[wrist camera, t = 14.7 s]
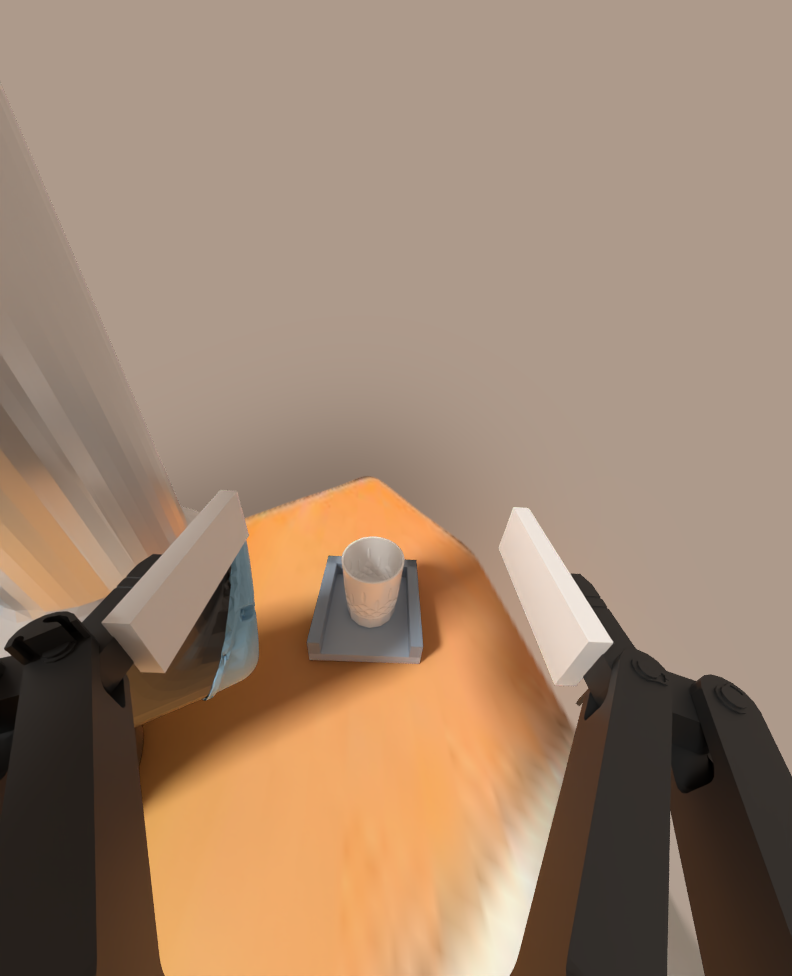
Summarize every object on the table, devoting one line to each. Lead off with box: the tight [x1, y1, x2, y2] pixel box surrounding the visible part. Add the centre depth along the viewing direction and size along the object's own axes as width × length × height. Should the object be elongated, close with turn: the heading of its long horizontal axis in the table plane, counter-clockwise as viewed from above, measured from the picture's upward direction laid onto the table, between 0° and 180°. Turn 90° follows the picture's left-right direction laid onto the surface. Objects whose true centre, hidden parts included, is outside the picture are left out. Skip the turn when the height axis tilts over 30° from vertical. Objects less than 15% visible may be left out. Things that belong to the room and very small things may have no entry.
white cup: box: [342, 537, 404, 628], centre depth 40 cm, size 8×8×10 cm
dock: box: [307, 556, 423, 664], centre depth 42 cm, size 14×14×4 cm
